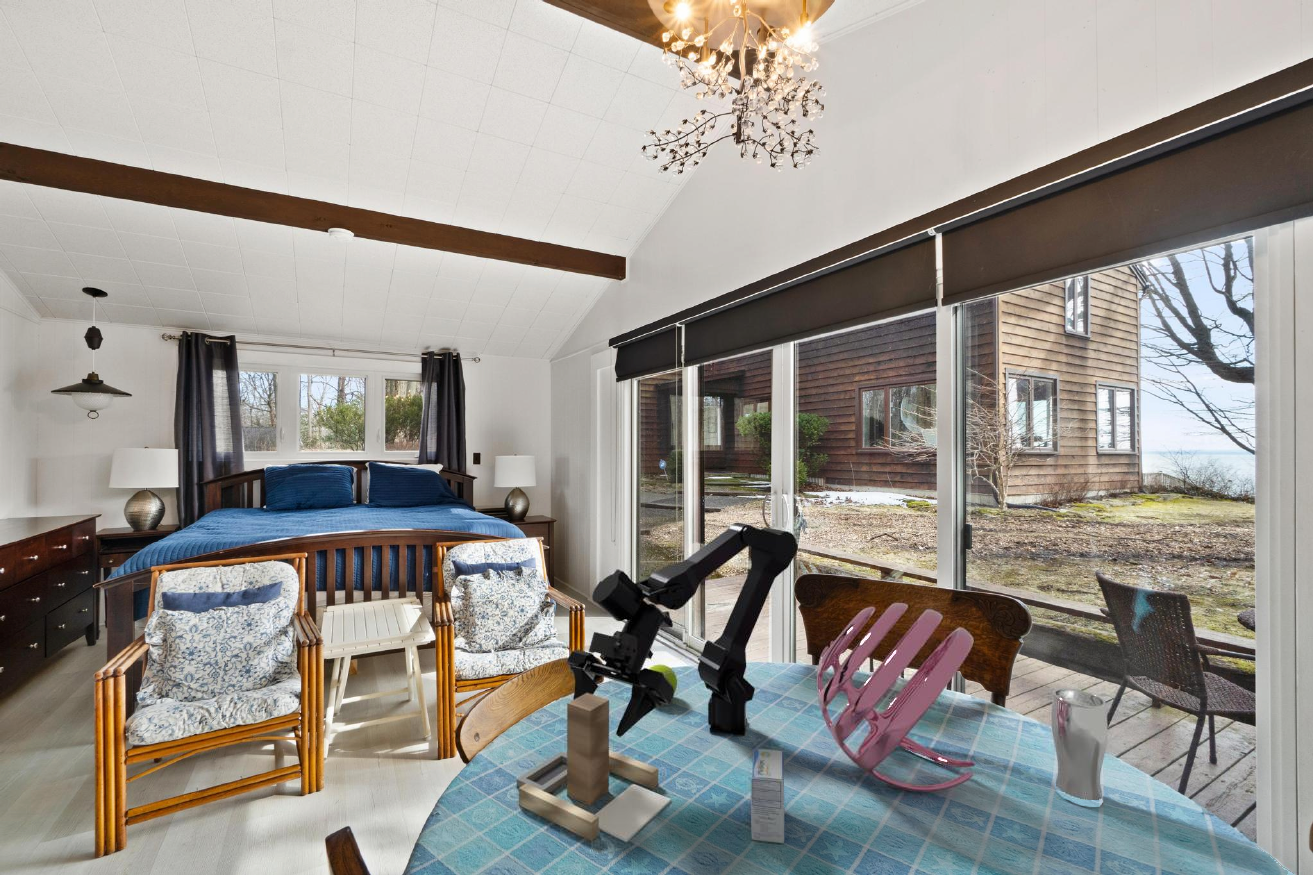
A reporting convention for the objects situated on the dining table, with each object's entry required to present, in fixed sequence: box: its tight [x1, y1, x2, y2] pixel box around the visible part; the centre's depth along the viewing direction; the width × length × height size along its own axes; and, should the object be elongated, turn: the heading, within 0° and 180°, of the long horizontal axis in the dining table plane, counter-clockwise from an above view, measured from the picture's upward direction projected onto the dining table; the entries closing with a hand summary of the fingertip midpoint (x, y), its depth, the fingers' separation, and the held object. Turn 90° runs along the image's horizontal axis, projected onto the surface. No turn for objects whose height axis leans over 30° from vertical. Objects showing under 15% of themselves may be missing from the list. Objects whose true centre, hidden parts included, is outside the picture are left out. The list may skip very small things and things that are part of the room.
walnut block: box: [566, 693, 610, 807], centre depth 91 cm, size 4×4×14 cm
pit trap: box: [516, 751, 567, 794], centre depth 95 cm, size 6×10×1 cm, turn 146°
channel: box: [518, 749, 659, 842], centre depth 91 cm, size 14×16×2 cm
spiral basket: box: [816, 602, 976, 793], centre depth 98 cm, size 28×28×27 cm
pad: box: [594, 783, 672, 843], centre depth 86 cm, size 7×11×1 cm, turn 146°
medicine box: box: [750, 748, 785, 844], centre depth 84 cm, size 8×4×9 cm, turn 168°
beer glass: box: [1051, 687, 1108, 800], centre depth 91 cm, size 7×7×15 cm
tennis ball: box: [649, 664, 678, 694], centre depth 124 cm, size 7×7×7 cm
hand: (594, 727), depth 92 cm, fingers open, 9 cm apart
